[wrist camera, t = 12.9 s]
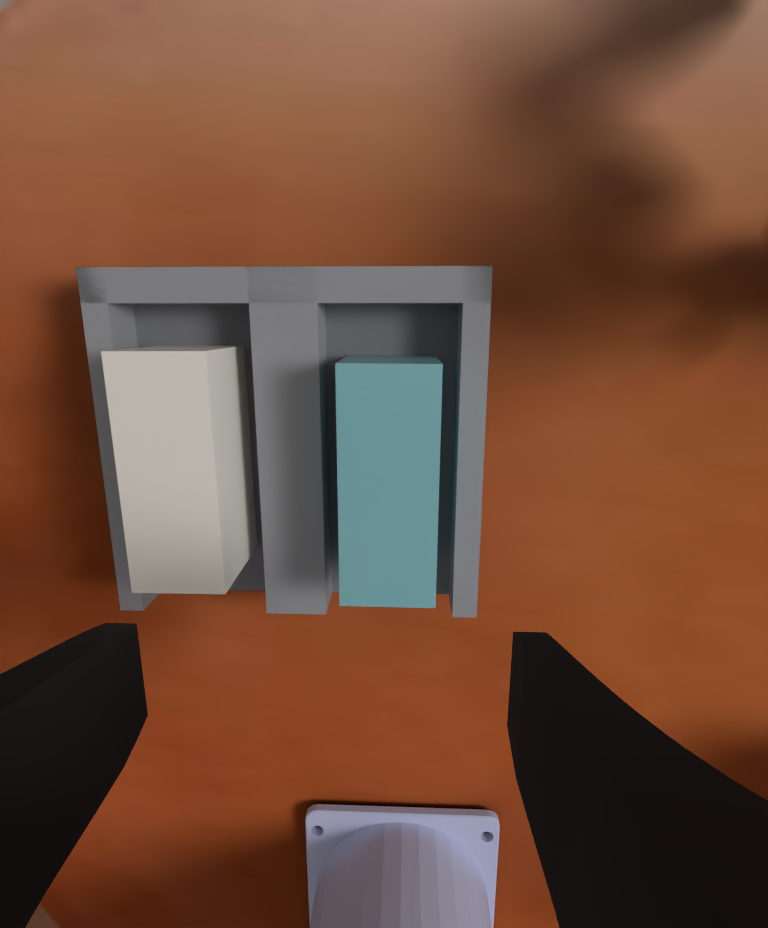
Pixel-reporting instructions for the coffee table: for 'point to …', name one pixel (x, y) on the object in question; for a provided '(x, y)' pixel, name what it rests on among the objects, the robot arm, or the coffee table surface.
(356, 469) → the tall teal prism
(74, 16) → the coffee table surface
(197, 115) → the coffee table surface
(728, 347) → the coffee table surface
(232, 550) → the tall white block
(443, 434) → the grey two-slot rack
